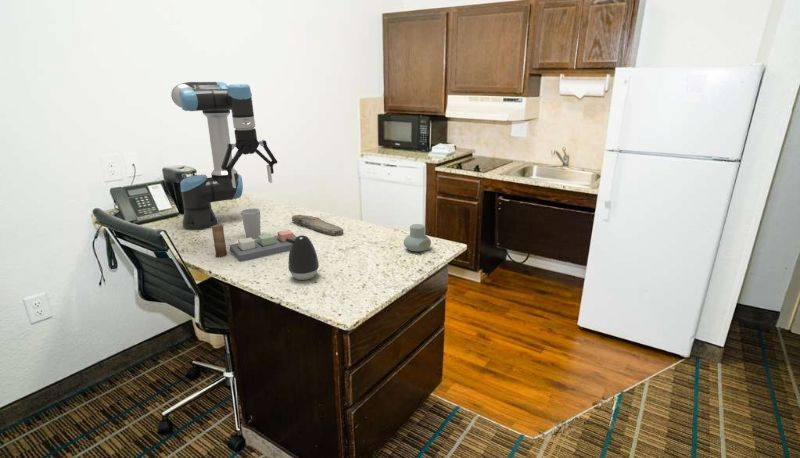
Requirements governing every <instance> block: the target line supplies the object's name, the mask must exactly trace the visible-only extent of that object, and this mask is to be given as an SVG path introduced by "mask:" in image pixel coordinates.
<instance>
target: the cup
mask: <svg viewBox="0 0 800 458" xmlns="http://www.w3.org/2000/svg"><path fill="white" fill-rule="evenodd" d="M240 215H241V220H242V222H243V223H242V224H243V229H244V234H245V238H250V237H251V238H252V239H253V240H257V239H258V236H260V235H262V234H261V233H262V232H261V209H260V208H252V207H251V208H246V209H242V210H240Z"/></svg>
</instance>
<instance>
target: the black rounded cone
mask: <svg viewBox="0 0 800 458" xmlns="http://www.w3.org/2000/svg"><path fill="white" fill-rule="evenodd" d="M286 241H287V242H289V243H291V244H292V246H291V249H290V251H289V252H288V253H289V254H288V262H287V263H288V265H287V267H288V271H289V273H290V274H291V276H292V277H293V278H294V279H296V280H299V281H306V280H307V281H308V280H310V279H312V278H313V277H315V276H316V275H317V273H318V269H319V266H320V264H319V258H318V255H317V251H316V249H315V246H314V244H313V242H312V241H311V239H310V238H309V237H308V236H306V235H304V234H303V235H302V234H300V235H298V236H297V237H296V238H295V239H294V240H292V239H288V238H286Z"/></svg>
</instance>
